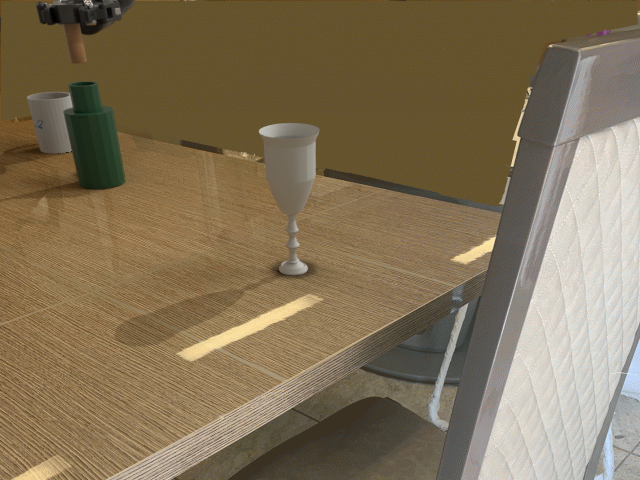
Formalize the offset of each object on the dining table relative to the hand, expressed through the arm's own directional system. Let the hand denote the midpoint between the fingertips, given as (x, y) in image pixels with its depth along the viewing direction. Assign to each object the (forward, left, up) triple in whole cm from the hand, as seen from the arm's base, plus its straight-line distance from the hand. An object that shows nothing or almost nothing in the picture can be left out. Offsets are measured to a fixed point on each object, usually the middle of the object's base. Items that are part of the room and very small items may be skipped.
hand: (65, 16), depth 98 cm
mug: (-14, +30, -26) cm, 42 cm away
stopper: (0, +3, -6) cm, 7 cm away
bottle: (0, +3, -26) cm, 26 cm away
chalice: (+33, -42, -26) cm, 59 cm away
